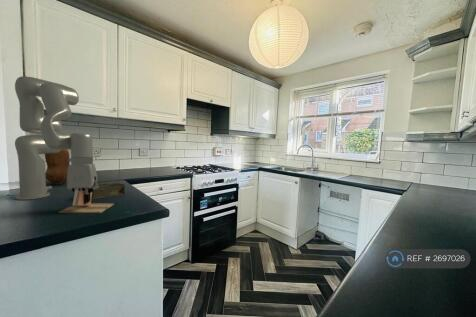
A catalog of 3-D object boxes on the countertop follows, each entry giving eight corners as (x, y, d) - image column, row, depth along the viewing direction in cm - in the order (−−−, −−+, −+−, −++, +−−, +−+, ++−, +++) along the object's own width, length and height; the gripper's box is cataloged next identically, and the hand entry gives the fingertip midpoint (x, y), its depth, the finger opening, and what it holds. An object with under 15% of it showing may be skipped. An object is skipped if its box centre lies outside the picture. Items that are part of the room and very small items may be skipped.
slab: (85, 205, 92) (87, 192, 94) (90, 205, 93) (92, 192, 94) (72, 205, 84) (75, 190, 85) (77, 205, 84) (80, 190, 85)
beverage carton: (125, 194, 116) (125, 183, 115) (85, 201, 101) (84, 188, 100) (119, 192, 121) (119, 181, 120) (80, 198, 106) (80, 186, 105)
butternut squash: (47, 183, 136) (46, 146, 134) (72, 181, 144) (72, 146, 142) (43, 187, 124) (42, 146, 123) (71, 185, 133) (71, 147, 131)
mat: (77, 204, 95) (77, 203, 95) (114, 204, 97) (114, 203, 97) (58, 213, 83) (58, 211, 83) (100, 213, 85) (100, 211, 85)
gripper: (55, 161, 83) (57, 205, 85) (97, 162, 85) (98, 205, 86) (68, 160, 91) (70, 200, 92) (106, 160, 93) (107, 200, 94)
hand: (83, 202), depth 89 cm, fingers closed on slab, 2 cm apart
